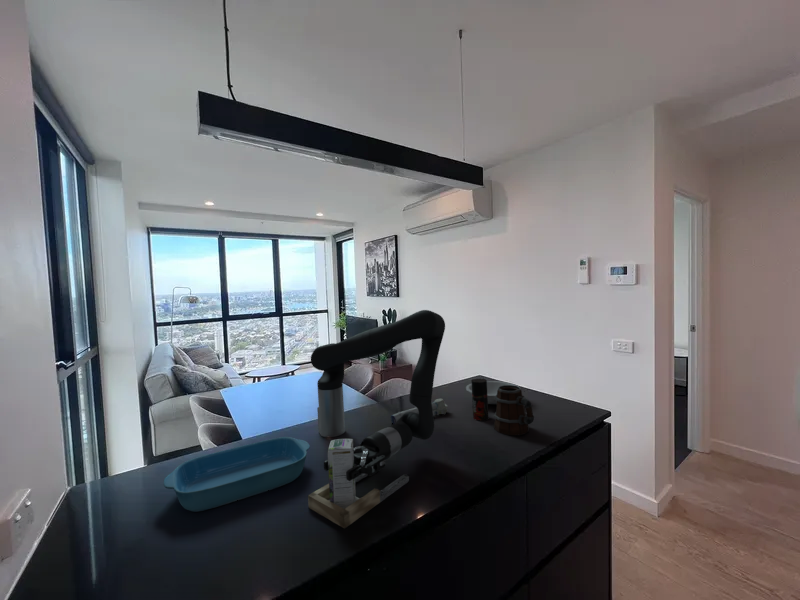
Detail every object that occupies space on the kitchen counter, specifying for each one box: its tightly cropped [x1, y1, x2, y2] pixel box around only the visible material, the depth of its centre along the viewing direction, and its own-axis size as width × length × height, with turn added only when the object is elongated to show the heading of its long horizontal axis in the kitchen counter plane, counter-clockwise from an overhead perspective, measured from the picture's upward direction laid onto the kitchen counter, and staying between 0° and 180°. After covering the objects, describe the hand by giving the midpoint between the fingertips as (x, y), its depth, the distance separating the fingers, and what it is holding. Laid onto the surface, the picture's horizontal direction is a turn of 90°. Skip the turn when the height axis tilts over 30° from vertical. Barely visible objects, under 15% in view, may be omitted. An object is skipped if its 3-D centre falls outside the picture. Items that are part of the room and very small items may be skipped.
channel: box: [355, 467, 410, 503], centre depth 92 cm, size 12×13×2 cm
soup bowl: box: [465, 380, 522, 405], centre depth 155 cm, size 24×24×7 cm
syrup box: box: [327, 438, 356, 509], centre depth 83 cm, size 6×6×14 cm
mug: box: [493, 385, 535, 436], centre depth 122 cm, size 16×12×15 cm
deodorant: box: [470, 378, 490, 422], centre depth 136 cm, size 6×6×15 cm
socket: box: [307, 483, 381, 529], centre depth 83 cm, size 12×13×3 cm
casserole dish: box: [163, 436, 311, 513], centre depth 96 cm, size 37×22×7 cm, turn 123°
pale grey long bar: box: [390, 398, 448, 425], centre depth 140 cm, size 5×7×25 cm
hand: (335, 471), depth 82 cm, fingers closed on syrup box, 8 cm apart
